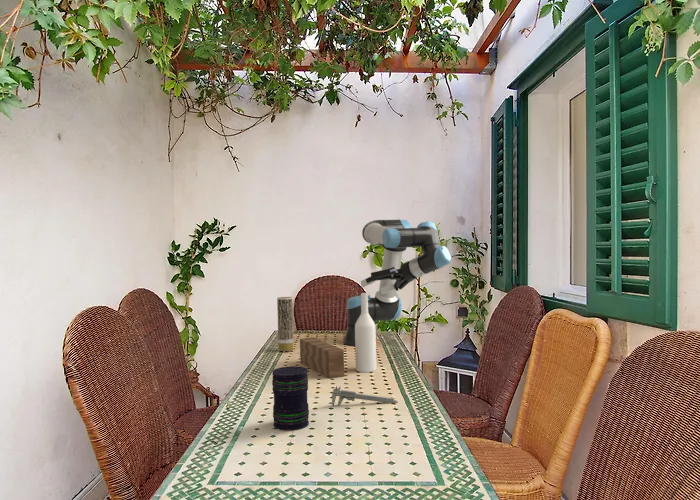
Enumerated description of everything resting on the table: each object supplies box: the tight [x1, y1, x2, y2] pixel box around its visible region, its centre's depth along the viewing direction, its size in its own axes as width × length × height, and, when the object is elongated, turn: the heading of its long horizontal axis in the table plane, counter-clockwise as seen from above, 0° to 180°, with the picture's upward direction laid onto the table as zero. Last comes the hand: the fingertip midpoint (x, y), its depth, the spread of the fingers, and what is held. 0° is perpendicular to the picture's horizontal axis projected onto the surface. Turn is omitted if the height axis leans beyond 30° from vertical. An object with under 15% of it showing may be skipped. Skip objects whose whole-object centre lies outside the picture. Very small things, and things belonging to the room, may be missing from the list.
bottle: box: [354, 292, 377, 373], centre depth 204 cm, size 8×8×30 cm
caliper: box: [331, 385, 399, 407], centre depth 161 cm, size 20×1×6 cm, turn 96°
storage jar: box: [271, 365, 310, 432], centre depth 144 cm, size 10×10×15 cm
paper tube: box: [276, 296, 294, 352], centre depth 244 cm, size 7×7×25 cm
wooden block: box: [299, 337, 345, 380], centre depth 207 cm, size 30×6×10 cm, turn 26°
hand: (371, 288), depth 217 cm, fingers open, 13 cm apart
